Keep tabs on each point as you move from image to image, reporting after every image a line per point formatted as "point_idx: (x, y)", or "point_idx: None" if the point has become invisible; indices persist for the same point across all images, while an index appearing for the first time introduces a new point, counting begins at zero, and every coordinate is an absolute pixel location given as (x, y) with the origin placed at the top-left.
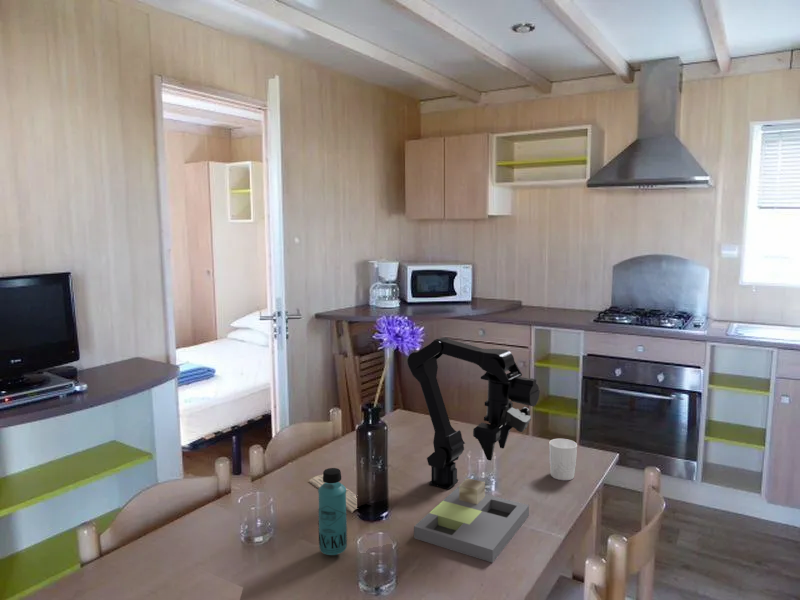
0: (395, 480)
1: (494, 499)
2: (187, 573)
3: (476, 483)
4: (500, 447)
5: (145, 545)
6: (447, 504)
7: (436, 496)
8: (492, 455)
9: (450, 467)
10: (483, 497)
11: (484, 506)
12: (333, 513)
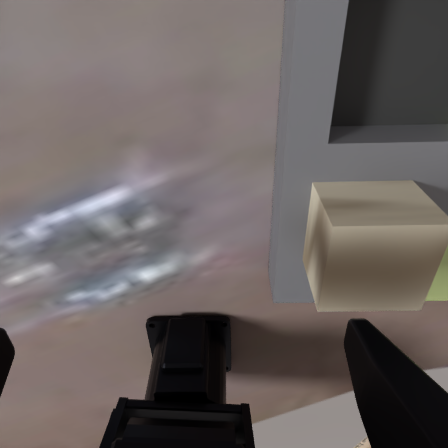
0: (253, 422)
1: (323, 127)
2: None
3: (367, 256)
4: (13, 353)
5: None
6: (444, 277)
7: (293, 322)
8: (378, 355)
9: (205, 388)
10: (331, 183)
11: (421, 141)
12: None
